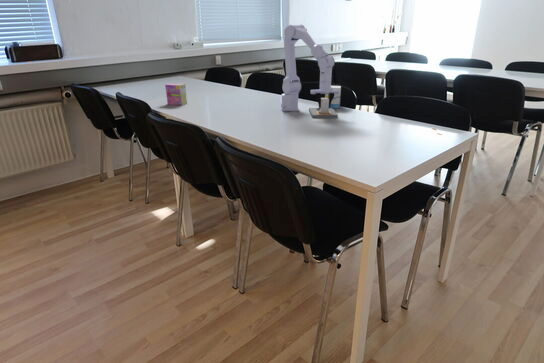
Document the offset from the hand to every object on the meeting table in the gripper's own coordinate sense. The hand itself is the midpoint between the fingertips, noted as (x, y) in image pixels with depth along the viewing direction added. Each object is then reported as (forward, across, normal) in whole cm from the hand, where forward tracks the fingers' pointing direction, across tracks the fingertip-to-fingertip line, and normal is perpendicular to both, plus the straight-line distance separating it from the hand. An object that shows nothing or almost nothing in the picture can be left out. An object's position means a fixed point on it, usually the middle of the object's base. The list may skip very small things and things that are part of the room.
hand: (324, 108), depth 195 cm
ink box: (+4, +8, +23) cm, 25 cm away
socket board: (+4, 0, +4) cm, 6 cm away
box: (+4, -84, +33) cm, 90 cm away
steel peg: (+3, 0, 0) cm, 3 cm away
